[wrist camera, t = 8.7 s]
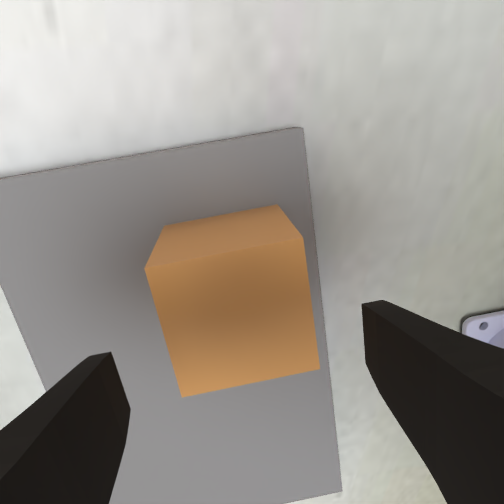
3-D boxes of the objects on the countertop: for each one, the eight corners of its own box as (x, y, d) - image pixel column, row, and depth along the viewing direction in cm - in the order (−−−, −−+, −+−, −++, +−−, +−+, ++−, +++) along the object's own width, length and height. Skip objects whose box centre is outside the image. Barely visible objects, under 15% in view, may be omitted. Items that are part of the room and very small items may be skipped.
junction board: (295, 126, 17) (323, 129, 13) (334, 469, 24) (360, 543, 20) (-20, 181, 16) (-101, 202, 12) (116, 515, 24) (94, 601, 19)
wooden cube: (277, 204, 16) (302, 237, 12) (292, 304, 18) (320, 369, 13) (163, 225, 16) (144, 268, 12) (190, 325, 18) (181, 397, 13)
